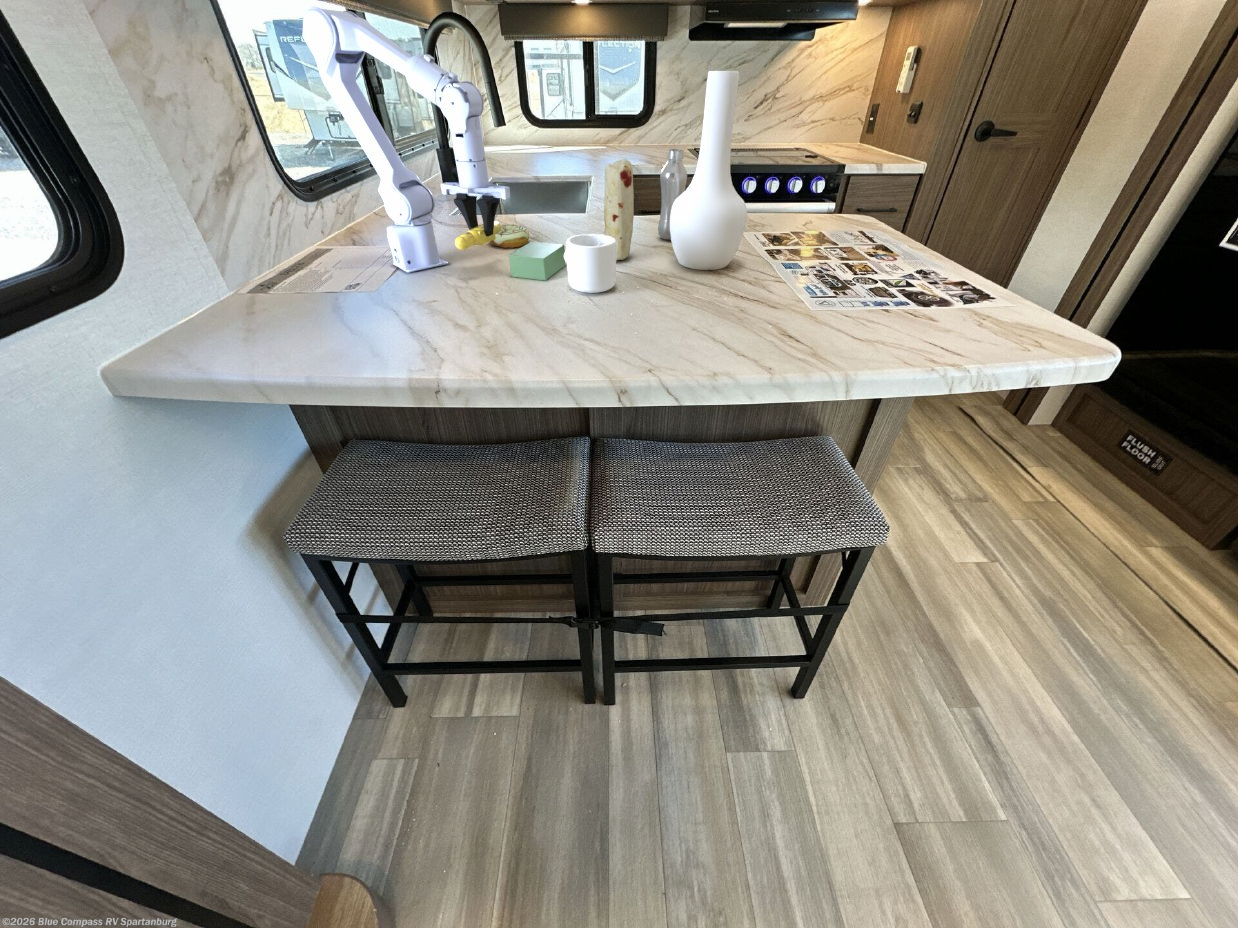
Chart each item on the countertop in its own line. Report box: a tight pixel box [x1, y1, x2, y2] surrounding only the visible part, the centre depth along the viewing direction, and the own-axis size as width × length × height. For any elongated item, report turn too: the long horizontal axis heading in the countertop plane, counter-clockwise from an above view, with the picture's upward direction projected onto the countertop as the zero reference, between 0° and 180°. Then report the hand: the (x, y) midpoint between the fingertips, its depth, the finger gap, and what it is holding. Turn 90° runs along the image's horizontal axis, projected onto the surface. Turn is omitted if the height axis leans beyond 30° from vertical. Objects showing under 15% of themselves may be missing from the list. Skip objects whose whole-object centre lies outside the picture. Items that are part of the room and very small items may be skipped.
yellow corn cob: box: [454, 220, 502, 251], centre depth 106 cm, size 16×4×3 cm, turn 162°
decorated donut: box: [489, 223, 530, 249], centre depth 127 cm, size 10×11×4 cm
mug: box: [564, 233, 617, 294], centre depth 101 cm, size 12×10×9 cm
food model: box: [603, 158, 635, 261], centre depth 113 cm, size 10×7×20 cm
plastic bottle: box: [657, 148, 688, 241], centre depth 126 cm, size 6×7×20 cm
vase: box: [670, 70, 748, 271], centre depth 106 cm, size 17×17×35 cm
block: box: [508, 241, 566, 281], centre depth 110 cm, size 11×8×4 cm
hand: (482, 234), depth 106 cm, fingers closed on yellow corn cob, 3 cm apart
